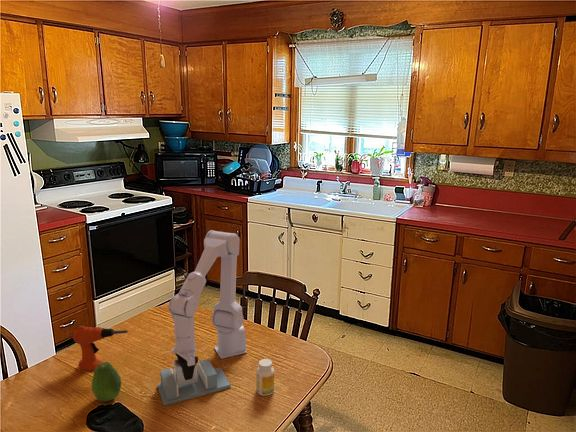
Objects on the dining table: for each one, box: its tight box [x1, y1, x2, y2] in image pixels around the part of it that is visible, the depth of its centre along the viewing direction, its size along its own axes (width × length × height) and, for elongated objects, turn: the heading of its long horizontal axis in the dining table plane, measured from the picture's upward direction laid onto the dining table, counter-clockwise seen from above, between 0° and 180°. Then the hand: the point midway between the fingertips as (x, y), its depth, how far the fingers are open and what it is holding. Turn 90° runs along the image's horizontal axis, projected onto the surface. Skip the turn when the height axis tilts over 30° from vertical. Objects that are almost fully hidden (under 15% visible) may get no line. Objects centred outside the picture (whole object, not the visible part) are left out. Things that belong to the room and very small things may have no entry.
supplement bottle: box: [255, 358, 275, 396], centre depth 131 cm, size 5×5×10 cm
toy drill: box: [72, 325, 128, 372], centre depth 141 cm, size 5×19×15 cm, turn 85°
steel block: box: [173, 359, 198, 387], centre depth 131 cm, size 6×4×6 cm, turn 116°
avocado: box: [91, 361, 122, 402], centre depth 126 cm, size 8×8×12 cm
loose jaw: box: [197, 358, 217, 389], centre depth 134 cm, size 3×9×4 cm, turn 26°
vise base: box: [157, 367, 232, 407], centre depth 132 cm, size 20×10×6 cm, turn 116°
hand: (186, 374), depth 131 cm, fingers closed on steel block, 4 cm apart
